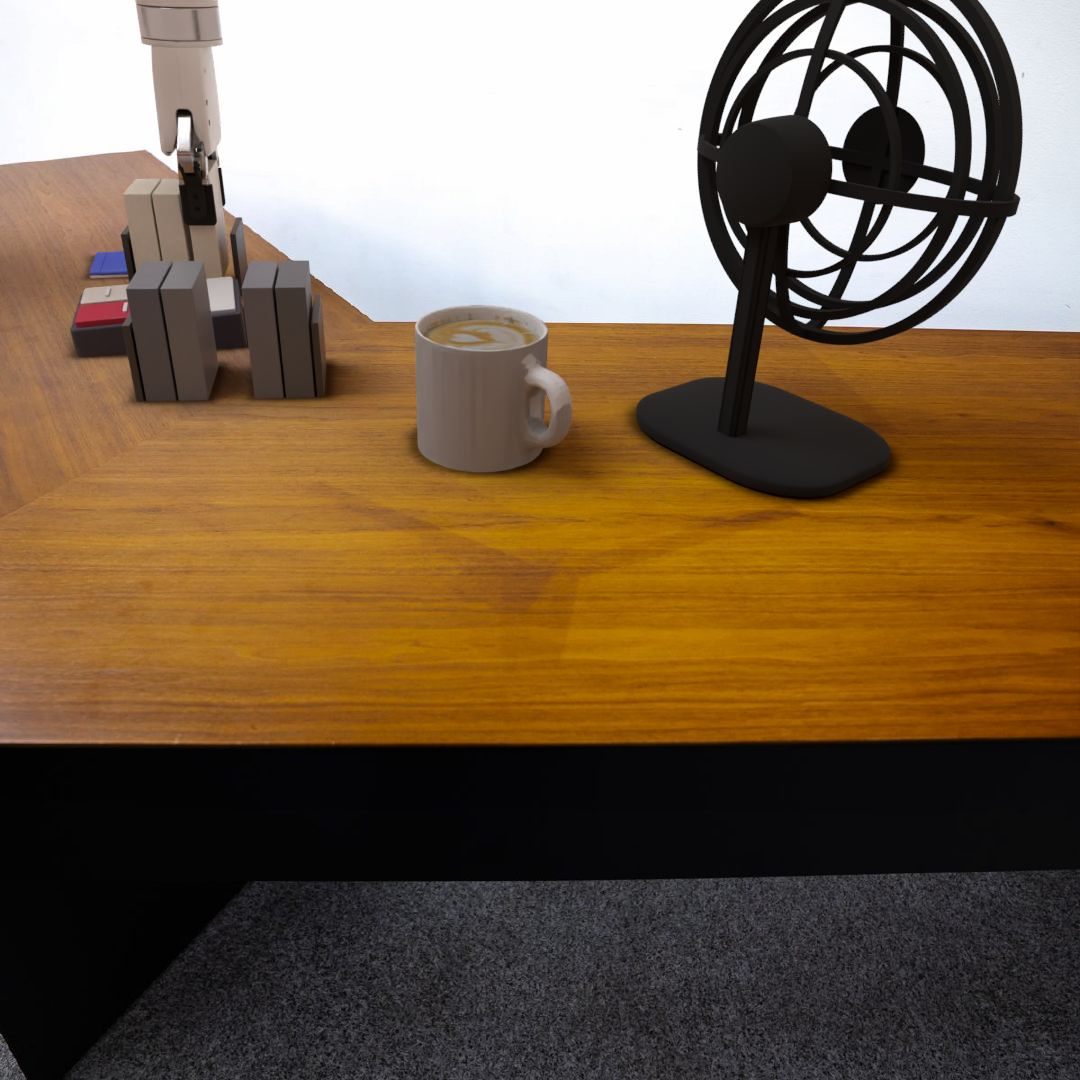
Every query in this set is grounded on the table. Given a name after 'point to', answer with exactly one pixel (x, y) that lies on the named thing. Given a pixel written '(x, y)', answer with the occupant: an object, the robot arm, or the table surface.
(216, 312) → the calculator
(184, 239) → the white books
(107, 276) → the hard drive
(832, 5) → the desk fan
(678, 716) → the table surface
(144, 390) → the grey books
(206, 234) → the white book
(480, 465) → the coffee mug
